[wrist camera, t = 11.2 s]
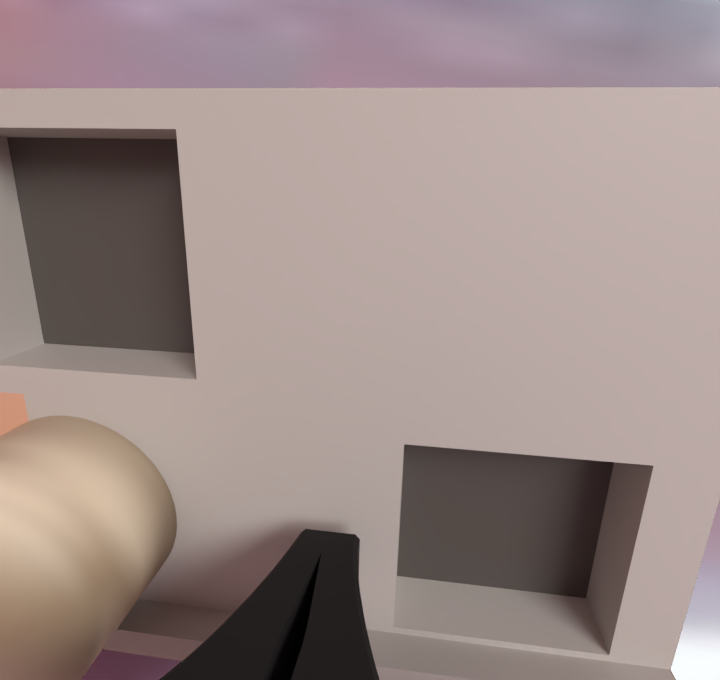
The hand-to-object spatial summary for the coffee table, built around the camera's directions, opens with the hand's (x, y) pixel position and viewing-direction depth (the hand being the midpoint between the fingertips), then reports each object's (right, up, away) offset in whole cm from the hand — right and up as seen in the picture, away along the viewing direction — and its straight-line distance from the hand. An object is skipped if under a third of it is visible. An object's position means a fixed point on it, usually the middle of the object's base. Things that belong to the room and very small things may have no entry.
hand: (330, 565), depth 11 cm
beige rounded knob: (-7, +1, +1) cm, 7 cm away
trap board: (-3, +4, +2) cm, 6 cm away
